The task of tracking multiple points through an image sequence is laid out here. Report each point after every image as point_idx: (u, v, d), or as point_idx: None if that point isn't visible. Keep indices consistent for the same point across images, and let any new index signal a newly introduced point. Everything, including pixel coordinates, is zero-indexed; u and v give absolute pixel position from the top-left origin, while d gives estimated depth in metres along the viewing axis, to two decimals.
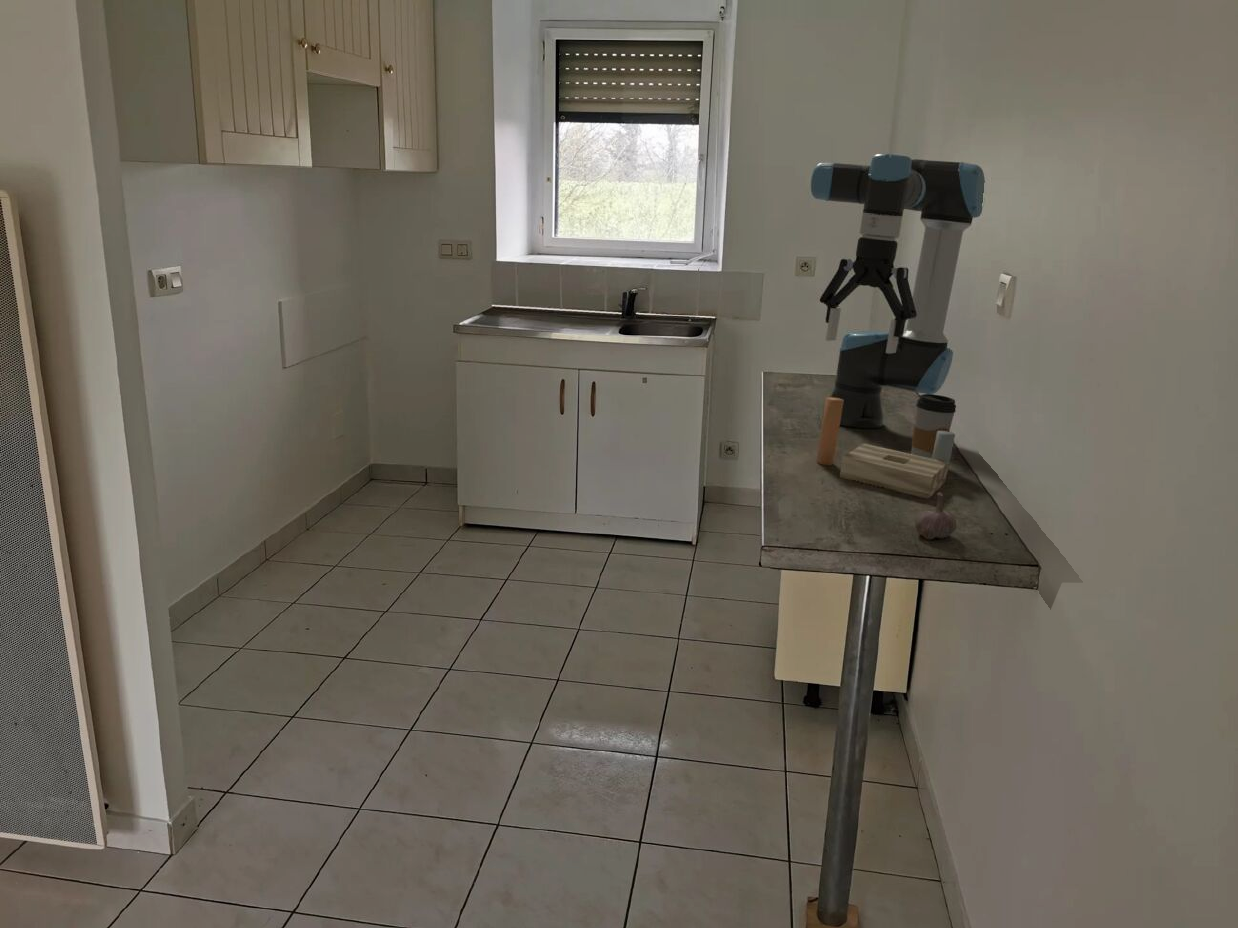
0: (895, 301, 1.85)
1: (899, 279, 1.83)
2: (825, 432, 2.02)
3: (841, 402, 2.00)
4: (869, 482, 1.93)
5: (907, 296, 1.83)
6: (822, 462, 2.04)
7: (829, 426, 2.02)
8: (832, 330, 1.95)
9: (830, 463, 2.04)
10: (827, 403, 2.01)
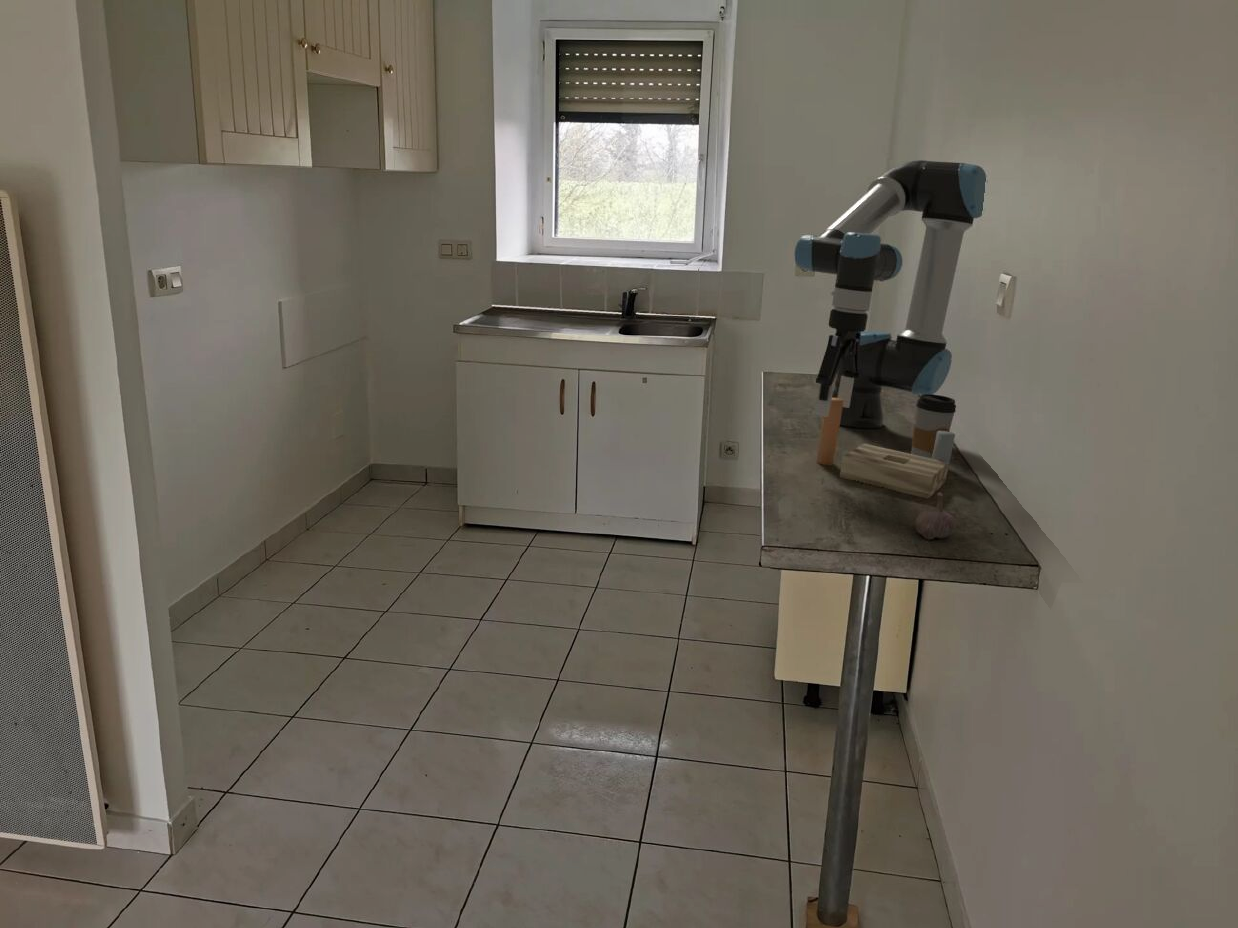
0: None
1: None
2: (825, 432, 2.02)
3: (841, 402, 2.00)
4: (869, 482, 1.93)
5: (824, 361, 1.92)
6: (822, 462, 2.04)
7: (829, 426, 2.02)
8: (841, 396, 2.07)
9: (830, 463, 2.04)
10: None
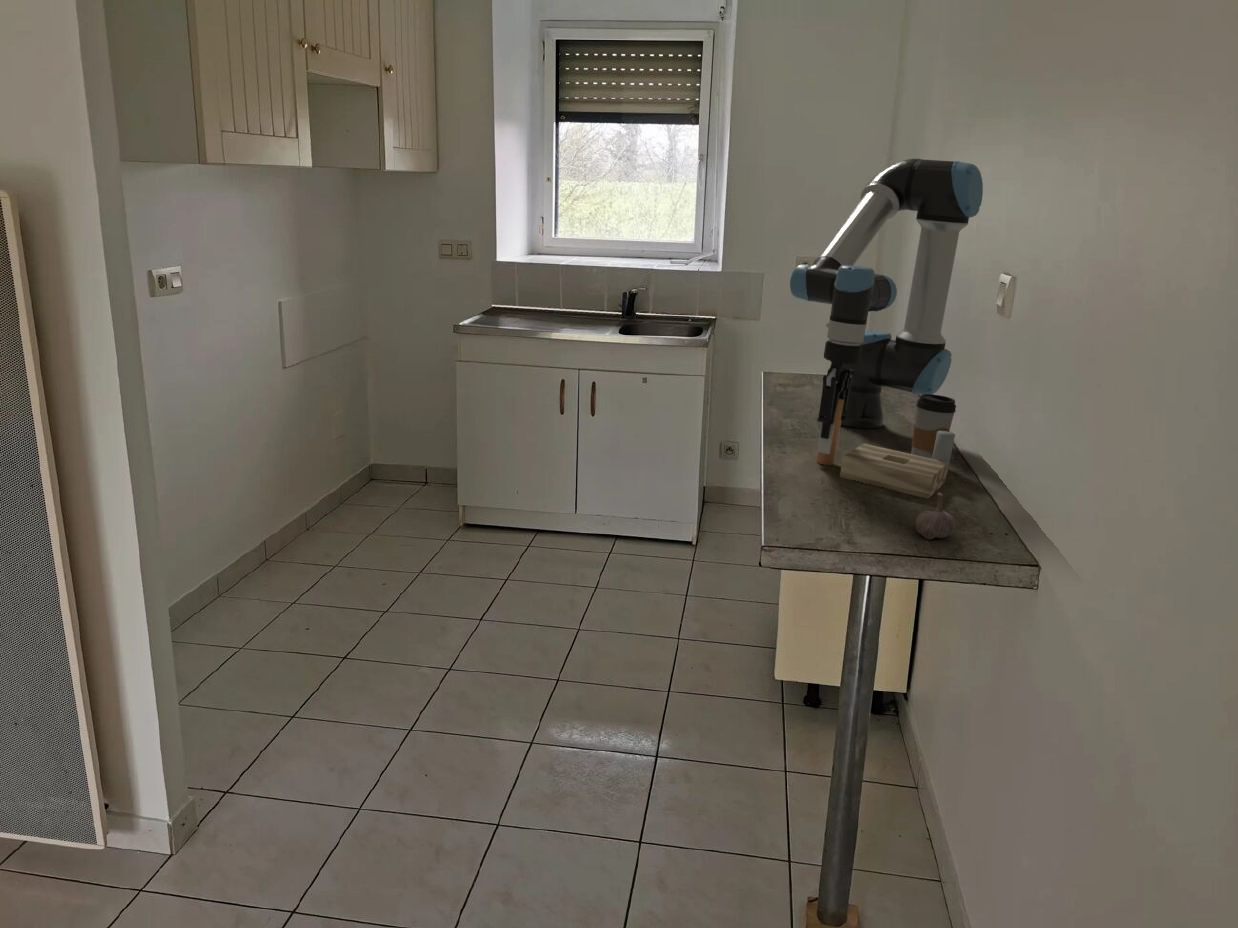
0: None
1: None
2: None
3: (841, 402, 2.00)
4: (869, 482, 1.93)
5: (822, 402, 1.97)
6: (822, 462, 2.04)
7: None
8: None
9: (830, 463, 2.04)
10: None
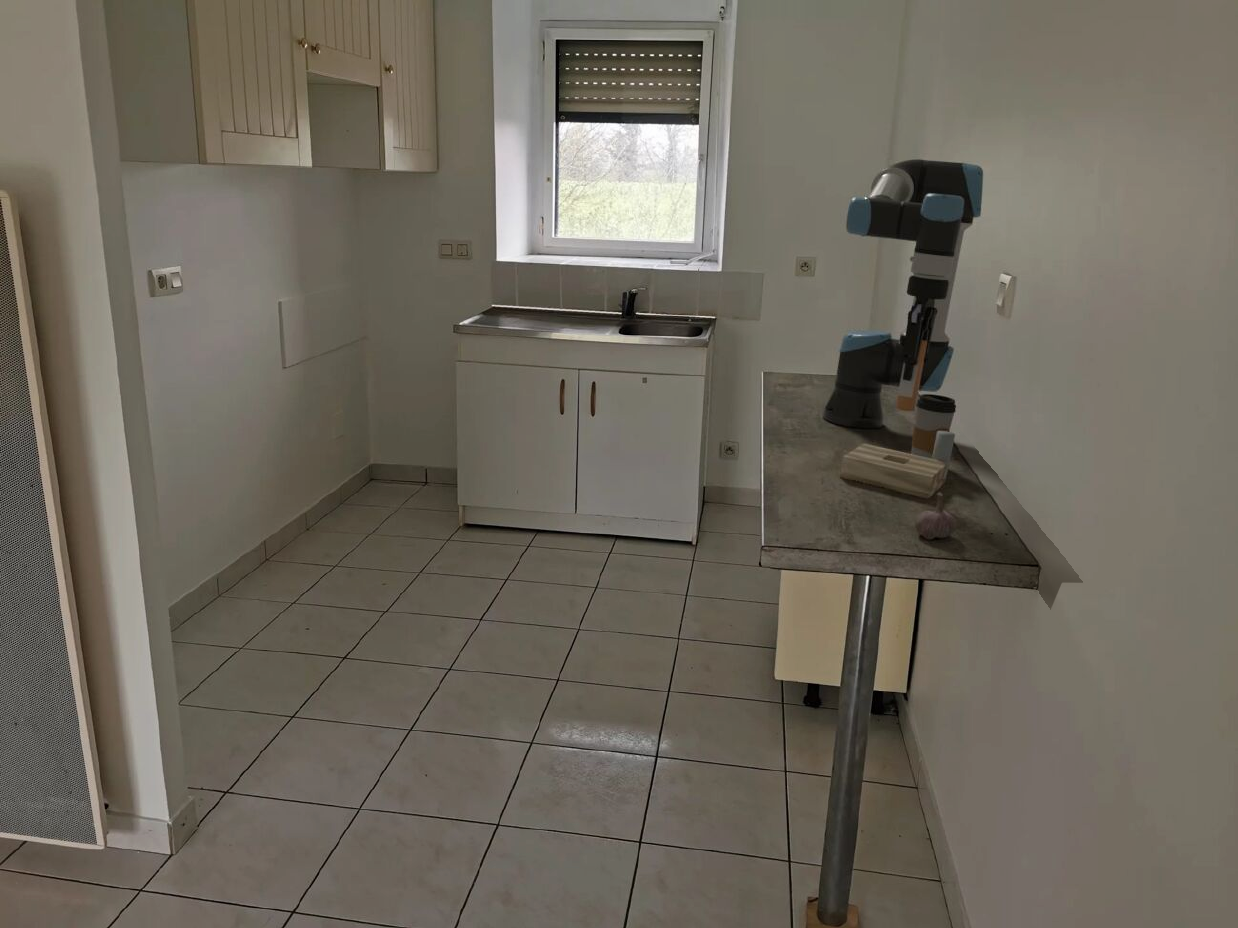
0: None
1: None
2: None
3: (925, 343, 1.88)
4: (869, 482, 1.93)
5: (906, 340, 1.85)
6: (903, 408, 1.92)
7: None
8: None
9: (911, 409, 1.92)
10: None
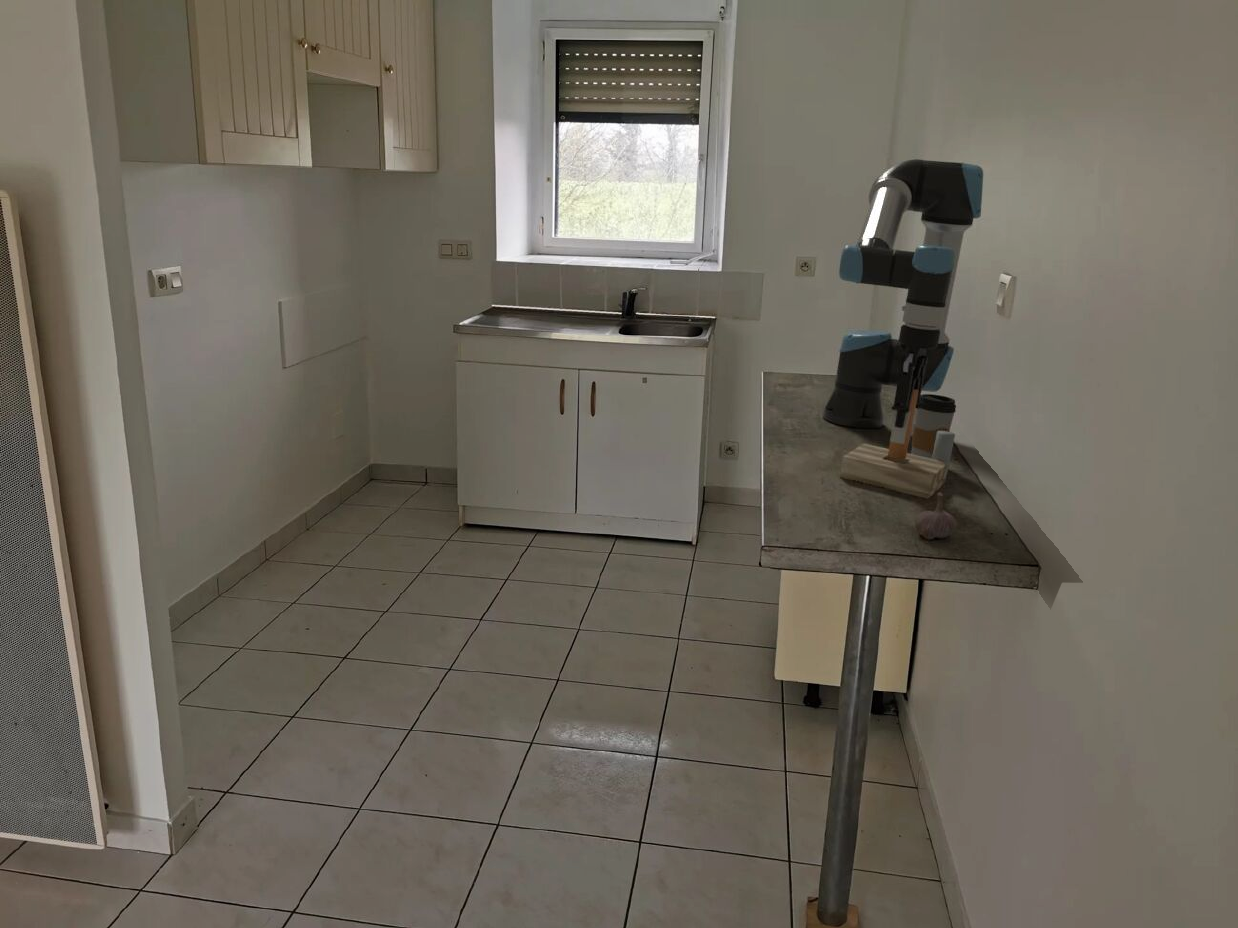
0: None
1: None
2: None
3: (916, 392, 1.91)
4: (869, 482, 1.93)
5: (898, 389, 1.88)
6: (895, 455, 1.95)
7: None
8: None
9: (903, 456, 1.95)
10: None
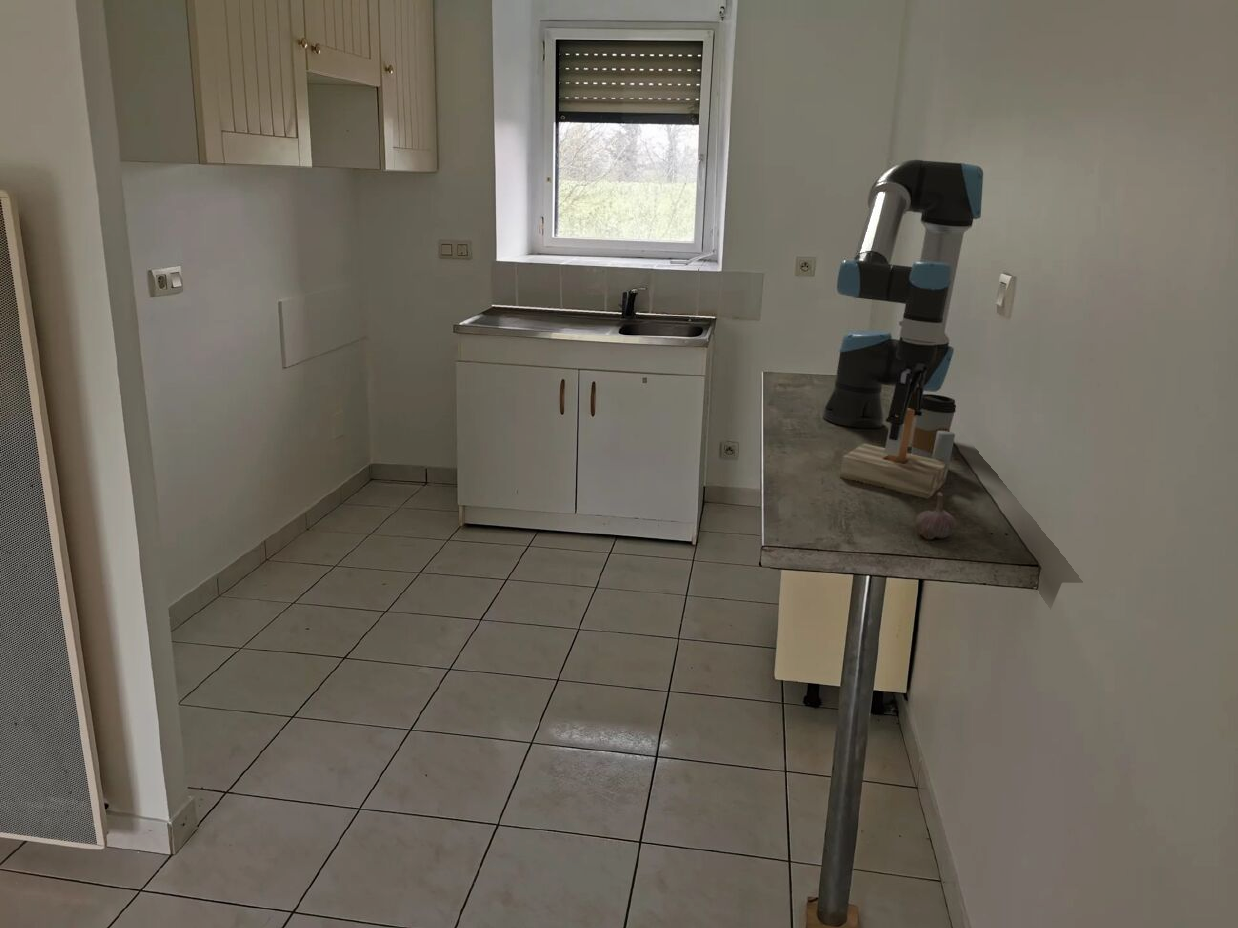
0: None
1: None
2: None
3: (912, 412, 1.92)
4: (869, 482, 1.93)
5: (894, 400, 1.87)
6: None
7: None
8: None
9: None
10: None
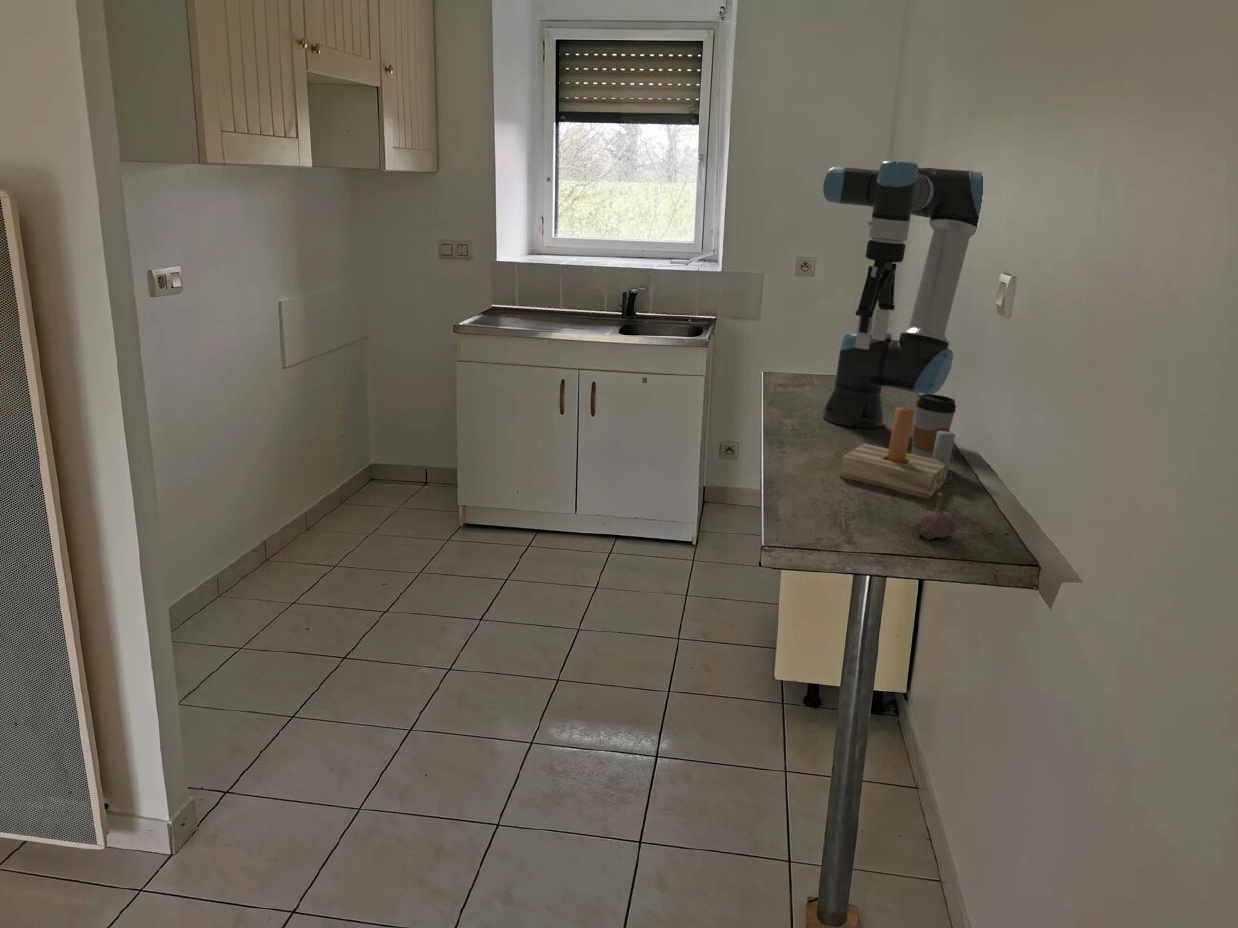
0: None
1: None
2: (894, 443, 1.94)
3: (912, 412, 1.92)
4: (869, 482, 1.93)
5: (864, 293, 1.91)
6: None
7: (899, 437, 1.93)
8: (876, 329, 2.06)
9: None
10: (897, 413, 1.93)
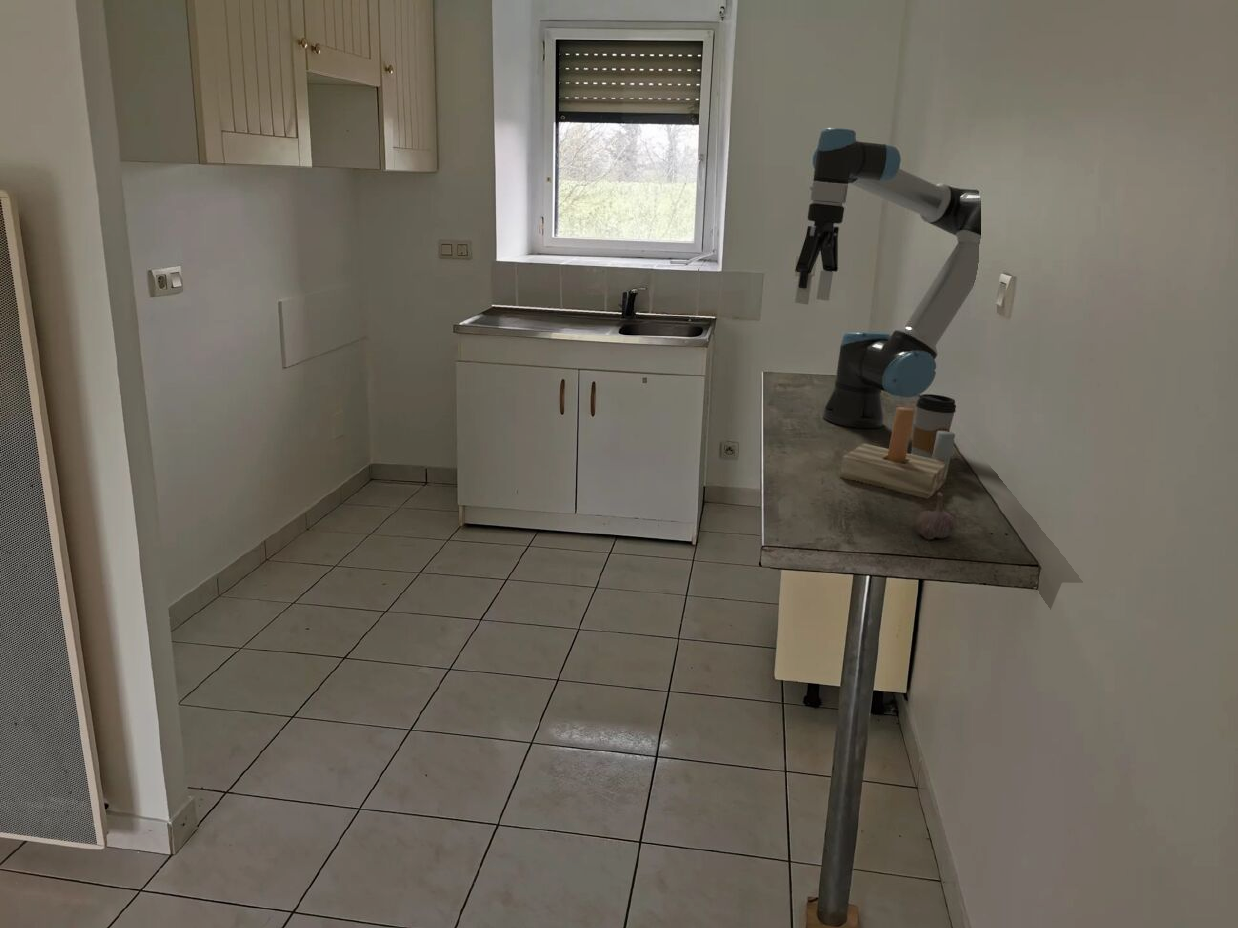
0: None
1: None
2: (895, 443, 1.94)
3: (912, 412, 1.92)
4: (869, 482, 1.93)
5: (803, 250, 2.04)
6: None
7: (899, 437, 1.93)
8: (821, 290, 2.19)
9: None
10: (897, 413, 1.93)
